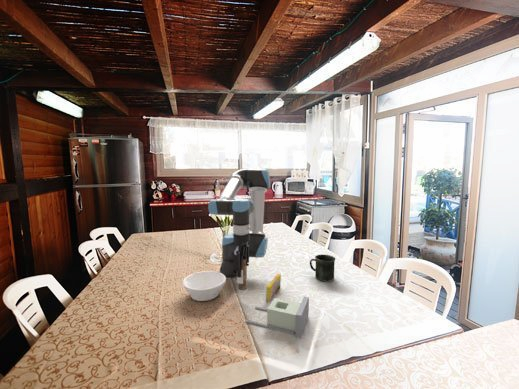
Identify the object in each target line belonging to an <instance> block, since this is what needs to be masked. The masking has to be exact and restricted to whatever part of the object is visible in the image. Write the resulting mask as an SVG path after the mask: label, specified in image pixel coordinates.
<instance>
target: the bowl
mask: <svg viewBox="0 0 519 389" xmlns="http://www.w3.org/2000/svg"><path fill="white" fill-rule="evenodd" d="M226 281H227V277H225V275H224V274H222V273H220V271H215V270H214V271H213V270H203V271H197V272H194V273H191V274H189V275H187V276H186V277H184V279H183V280H182V285H183V287H184V289H185V291H186V292H188V293H189V295H190V297H191V299H193V300H194V301H198V302H199V301H200V302H204V301H205V302H206V301H211V300H213V299H216V298H217V297H218V296H219V294H220V291H221V290H222V289H223V288H224V285H225V284H226Z"/></svg>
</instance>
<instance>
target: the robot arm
mask: <svg viewBox="0 0 519 389" xmlns="http://www.w3.org/2000/svg"><path fill="white" fill-rule="evenodd" d="M227 179H228V180H227V183H226V185H225V187H224V188H223V190H222V191H221V193H220V194H219V196H218V197H217V199H216V198H214V199H210V200H209V202H208V207H207V208H208V212H209V214H210V215H213V216H214V215H216V216H232V232H233V233H229V234H226V235H224V236H223V237H222V238H221V239H222V241H221V251H222V252H221V253H222V261H221V263H220V264H221V265H220V266H219V273H222V274H224V275H225V277H226V278H230V279H231V278H236V279H237V280H236V283H237V284H239V283H240V284H243V270H242V261H243V259H246V281H247V280H248V267H249V266H250V265H249V264H250V258H256V259H257V258H264V257H265V255H266V252H267V249H268V242H269V239H268V237H267V236H266V234H265V233H264V216H265V200H266V199H265V196H266V192H268V188H271V178H270V172H269V169H266V168H242V169H239V170H236V171H235V172H233V173H232V174H231V175H230V176H229V178H227ZM242 188H248V191H250V199H248V198H236V199H235V197H236V195H237V194H238V192H239V190H241V189H242Z"/></svg>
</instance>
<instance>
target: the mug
mask: <svg viewBox="0 0 519 389" xmlns="http://www.w3.org/2000/svg"><path fill="white" fill-rule="evenodd" d="M335 261H336V257H335V256H332V255H329V254H317V255H315V257H314V258H312V259H310V260H309V267H310V269H311V270H312V271H314V272H315V274H314V275H315V278H316V279H317V280H319V281H321V282H332V281H333V280H335V263H336V262H335ZM312 262H315V268H314V266H313V263H312Z"/></svg>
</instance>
